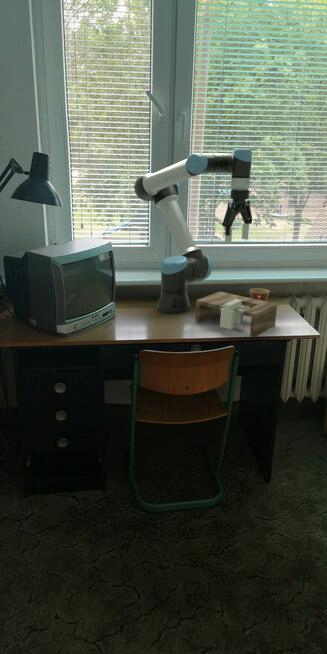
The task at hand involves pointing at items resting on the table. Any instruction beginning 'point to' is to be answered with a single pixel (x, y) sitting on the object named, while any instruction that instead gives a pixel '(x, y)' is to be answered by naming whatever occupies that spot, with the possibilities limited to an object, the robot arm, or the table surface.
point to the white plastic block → (231, 314)
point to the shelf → (239, 310)
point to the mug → (259, 294)
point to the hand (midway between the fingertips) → (236, 241)
